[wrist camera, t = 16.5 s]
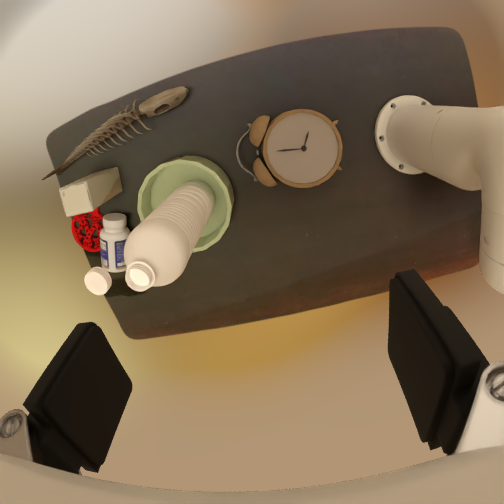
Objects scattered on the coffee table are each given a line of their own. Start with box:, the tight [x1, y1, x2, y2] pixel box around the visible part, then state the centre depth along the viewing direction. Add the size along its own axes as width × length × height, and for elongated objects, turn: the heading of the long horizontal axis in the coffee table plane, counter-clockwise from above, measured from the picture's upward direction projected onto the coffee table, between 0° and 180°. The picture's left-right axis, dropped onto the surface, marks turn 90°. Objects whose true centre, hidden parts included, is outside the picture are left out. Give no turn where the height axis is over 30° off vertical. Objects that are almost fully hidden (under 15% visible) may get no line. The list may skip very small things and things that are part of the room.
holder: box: [137, 155, 234, 252], centre depth 47 cm, size 14×14×5 cm
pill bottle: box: [100, 213, 130, 272], centre depth 50 cm, size 5×5×9 cm
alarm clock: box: [236, 109, 343, 188], centre depth 44 cm, size 11×5×15 cm
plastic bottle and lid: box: [85, 180, 216, 295], centre depth 37 cm, size 9×6×25 cm
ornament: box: [72, 207, 104, 252], centre depth 51 cm, size 8×1×10 cm
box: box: [59, 167, 123, 217], centre depth 43 cm, size 5×4×11 cm
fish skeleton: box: [42, 86, 188, 180], centre depth 40 cm, size 6×28×10 cm, turn 114°
